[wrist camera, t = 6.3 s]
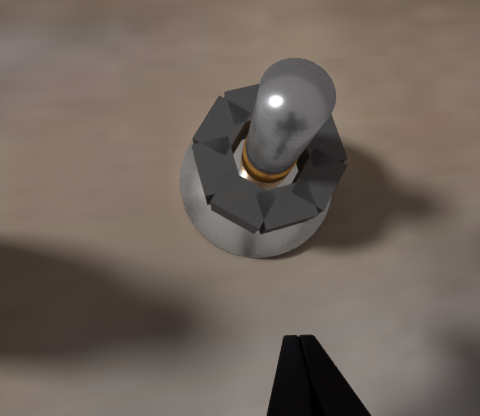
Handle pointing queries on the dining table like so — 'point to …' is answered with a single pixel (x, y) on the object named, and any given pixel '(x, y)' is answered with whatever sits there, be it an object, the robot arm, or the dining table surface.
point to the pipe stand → (268, 156)
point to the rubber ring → (249, 194)
